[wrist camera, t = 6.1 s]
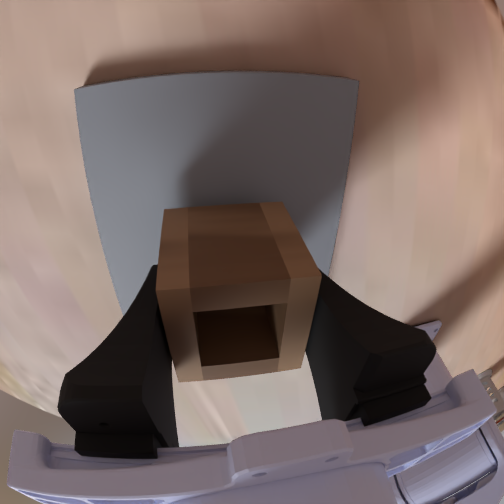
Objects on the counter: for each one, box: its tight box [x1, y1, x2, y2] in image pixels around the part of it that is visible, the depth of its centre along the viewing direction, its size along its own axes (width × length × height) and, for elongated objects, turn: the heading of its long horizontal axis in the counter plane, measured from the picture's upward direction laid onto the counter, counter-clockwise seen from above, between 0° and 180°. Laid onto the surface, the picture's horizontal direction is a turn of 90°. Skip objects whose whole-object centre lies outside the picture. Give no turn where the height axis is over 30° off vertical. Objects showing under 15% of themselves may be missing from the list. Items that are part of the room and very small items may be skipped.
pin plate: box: [74, 71, 359, 316], centre depth 15 cm, size 16×12×4 cm
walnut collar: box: [156, 202, 322, 382], centre depth 13 cm, size 5×5×5 cm
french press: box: [478, 369, 504, 427], centre depth 34 cm, size 10×12×25 cm
